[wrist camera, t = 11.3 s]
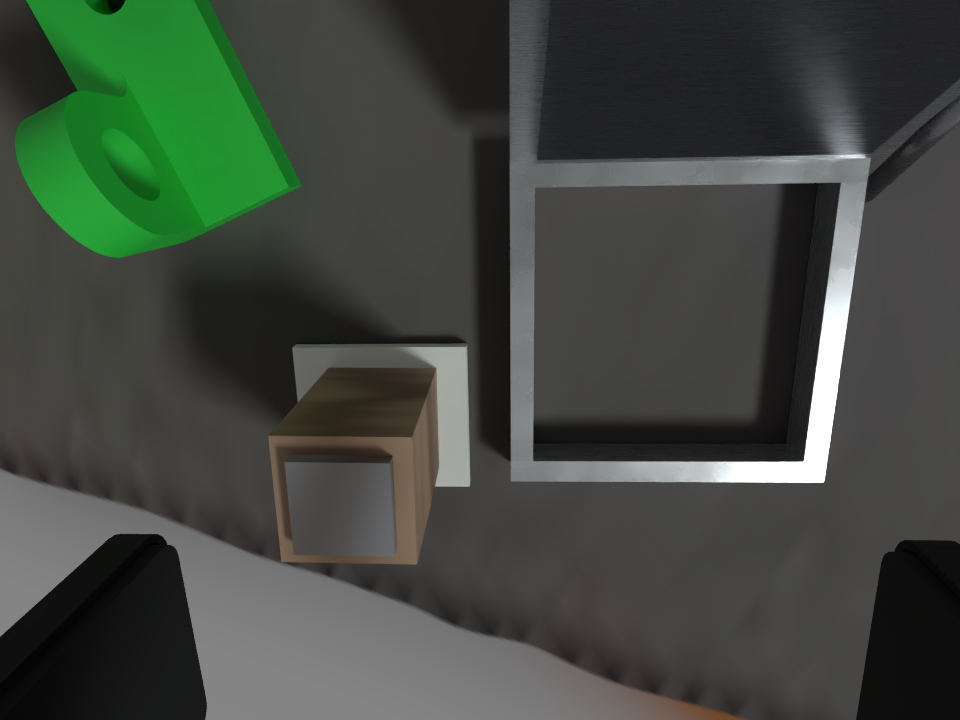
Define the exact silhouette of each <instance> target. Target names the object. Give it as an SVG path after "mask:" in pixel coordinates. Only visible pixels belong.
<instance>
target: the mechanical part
mask: <svg viewBox="0 0 960 720" xmlns="http://www.w3.org/2000/svg"><path fill="white" fill-rule="evenodd" d="M26 1H27V3H28V5H29V6H30V8H31V10H32V12H33V13H34V15H35V17H36V19H37V20H38V22H39V24H40V26H41V27H42V29H43V31H44V33H45V35H46V36H47V38H48V40H49V42H50V43H51V45H52V47H53V49H54V50H55V52H56V54H57V56H58V57H59V59H60V61H61V63H62V64H63V66H64V68H65V70H66V71H67V73H68V75H69V77H70V78H71V80H72V82H73V84H74V85H75V87H76V89H77V92H74V93H72V94H70V95H68V96H66V97H65V98H63V99H61V100H59V101H57V102H55V103H54V104H52V105H50V106H48V107H46V108H44V109H42V110H41V111H39V112H37V113H35V114H33V115H31V116H30V117H28V118H26V119H24V120H23V121H22V122H21V123H20V124H19V126H18V128H17V131H16V135H15V150H16V155H17V159H18V163H19V166H20V168H21V171H22V174H23V176H24V178H25V180H26V182H27V184H28V186H29V188H30V189H31V191H32V193H33V194H34V196H35V197H36V199H37V200H38V202H39V203H40V204H41V206H42V207H43V208H44V209H45V211H46V212H47V213H48V214H49V215H50V216H51V218H52V219H53V220H54V221H55V222H56V223H57V224H58V225H59V226H60V227H61V228H62V229H63V230H64V231H66V232H67V233H68V234H69V235H70V236H72V237H73V238H74V239H75V240H77V241H78V242H80V243H81V244H83V245H84V246H86V247H87V248H89V249H91V250H93V251H95V252H97V253H100V254H102V255H106V256H109V257H125V256H130V255H134V254H138V253H142V252H146V251H150V250H154V249H158V248H162V247H167V246H171V245H175V244H179V243H183V242H187V241H189V240H191V239H193V238H195V237H197V236H199V235H201V234H203V233H205V232H207V231H209V230H211V229H213V228H215V227H217V226H220V225H222V224H224V223H226V222H228V221H230V220H232V219H234V218H236V217H238V216H240V215H242V214H244V213H246V212H248V211H250V210H253V209H255V208H257V207H259V206H261V205H263V204H265V203H267V202H269V201H271V200H273V199H275V198H277V197H279V196H281V195H283V194H286V193H288V192H290V191H292V190H294V189H296V188H298V187H300V186H302V185H301V183H300V181H299V179H298V177H297V175H296V173H295V171H294V169H293V167H292V165H291V163H290V161H289V159H288V157H287V155H286V153H285V151H284V149H283V147H282V145H281V143H280V141H279V139H278V137H277V135H276V133H275V131H274V129H273V127H272V125H271V123H270V121H269V119H268V117H267V115H266V113H265V111H264V109H263V107H262V105H261V103H260V101H259V99H258V97H257V95H256V94H255V92H254V90H253V88H252V86H251V84H250V82H249V80H248V78H247V76H246V74H245V72H244V70H243V68H242V66H241V64H240V62H239V60H238V58H237V56H236V54H235V52H234V50H233V48H232V46H231V44H230V42H229V40H228V38H227V36H226V34H225V32H224V30H223V28H222V26H221V24H220V22H219V20H218V18H217V16H216V14H215V12H214V10H213V8H212V6H211V4H210V2H209V0H125V3H124V5H123V6H122V8H121V9H120V10H119V11H117V12H116V13H112V11H111V9H110V7H109V4H108V0H26Z"/></svg>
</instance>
